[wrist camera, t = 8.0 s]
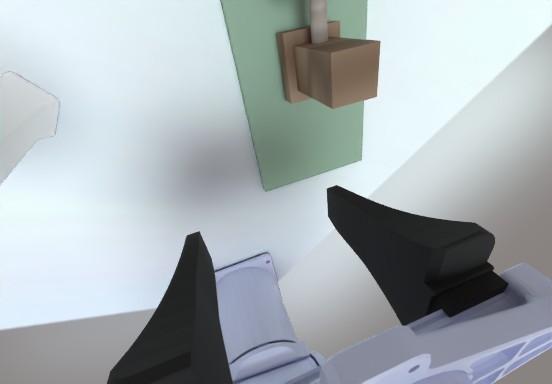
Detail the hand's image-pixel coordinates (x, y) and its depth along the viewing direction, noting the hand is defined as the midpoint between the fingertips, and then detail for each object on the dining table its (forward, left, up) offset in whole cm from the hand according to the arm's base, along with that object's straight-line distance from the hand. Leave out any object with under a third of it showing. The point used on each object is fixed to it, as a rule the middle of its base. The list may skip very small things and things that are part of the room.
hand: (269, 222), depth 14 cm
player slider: (+7, -7, -8) cm, 13 cm away
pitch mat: (+5, -7, -9) cm, 13 cm away
